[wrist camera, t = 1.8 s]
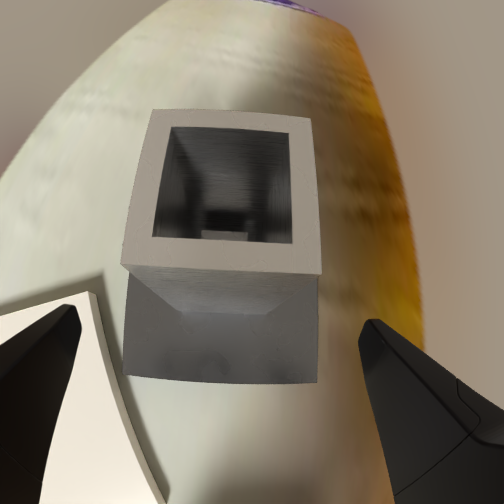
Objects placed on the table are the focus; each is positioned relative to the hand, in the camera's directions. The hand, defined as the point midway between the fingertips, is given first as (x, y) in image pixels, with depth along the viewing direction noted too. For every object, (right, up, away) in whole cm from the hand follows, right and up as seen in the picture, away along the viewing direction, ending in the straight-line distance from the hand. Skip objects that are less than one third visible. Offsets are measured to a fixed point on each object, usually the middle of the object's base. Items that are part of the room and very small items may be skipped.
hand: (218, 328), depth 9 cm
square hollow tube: (-1, +1, +11) cm, 11 cm away
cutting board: (-14, -10, +7) cm, 19 cm away
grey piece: (-1, +1, +12) cm, 12 cm away
